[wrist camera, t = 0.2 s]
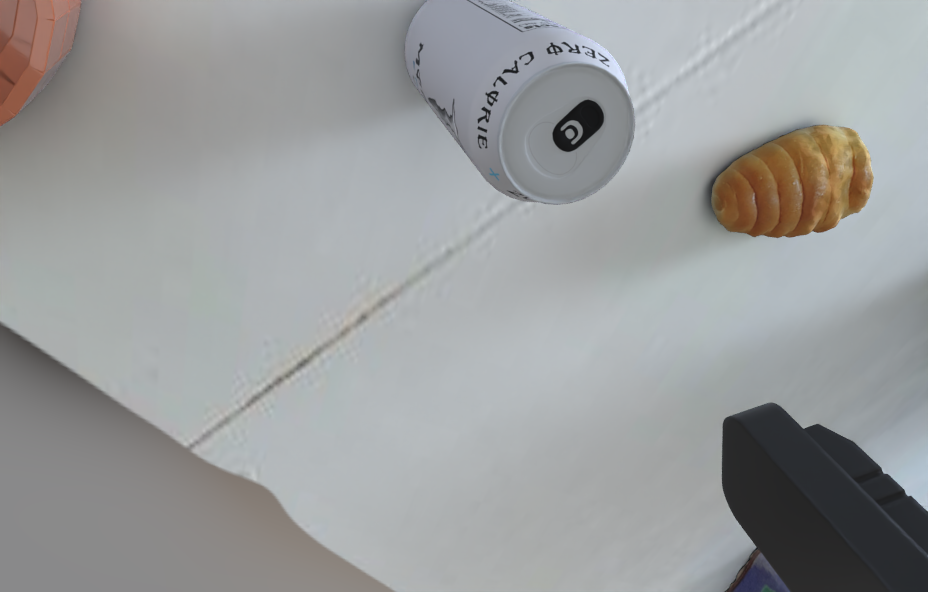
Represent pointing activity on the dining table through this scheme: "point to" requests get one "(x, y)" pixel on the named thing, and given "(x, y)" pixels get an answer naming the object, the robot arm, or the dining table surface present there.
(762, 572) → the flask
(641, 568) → the dining table surface
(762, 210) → the pastry
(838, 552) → the robot arm
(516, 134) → the energy drink can
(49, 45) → the bowl
